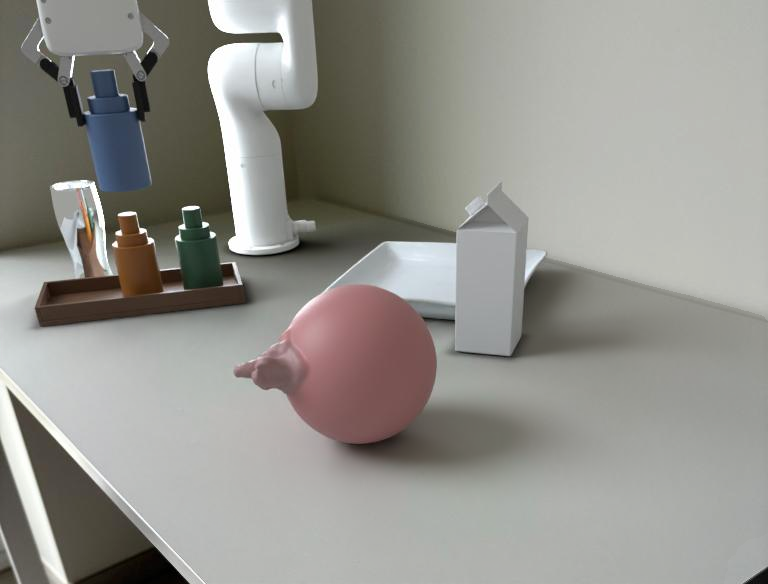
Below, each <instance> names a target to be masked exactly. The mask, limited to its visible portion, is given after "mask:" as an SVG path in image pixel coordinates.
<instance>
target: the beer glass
mask: <svg viewBox="0 0 768 584" xmlns="http://www.w3.org/2000/svg"><path fill="white" fill-rule="evenodd" d="M49 190H50V195H51V201H52V202H51V203H52V207H53V211H54V216H55V219H56V223H57V226H58V229H59V232H60V234H61V236H62V239H63V241H64V244H65V245H66V247H67V250H68V253H69V254H70V257H71V261H72V265H73V272H74V279H78V278H87V277H97V276H106V275H114V274H113V272H112V269H111V266H110V264H109V261H108V256H107V249H106V230H105V218H104V214H103V208H102V205H101V201H100V198H99V195H98V192H97V191H98V190H97V188H96V185H95V181H93V180H88V179H79V180H78V179H77V180H76V179H75V180H74V179H73V180H66V181H60V182H56V183H53V184H51V185H49Z"/></svg>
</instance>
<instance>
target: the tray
mask: <svg viewBox="0 0 768 584" xmlns="http://www.w3.org/2000/svg"><path fill="white" fill-rule="evenodd" d="M220 265H221V271H222V278H223V285H224V286H216V287H207V288H198V289H189V290H184V287H183V281H182V276H181V270H180V267H173V268H164V269H160V274H161V280H162V285H163V290H164V292H162V293H153V294H144V295H135V296H126V297H123V294H122V289H121V285H120V280H119V276H118V273H117V274H113V275H106V276H97V277H87V278H78V279H75V278H71V279H70V278H69V279H60V280H49V281H43V284H42V286H41V289H40V292H39V294H38V297H37V300H36V302H35V305H34V311H35V314H36V318H37V322H38V325H39V327H49V326H58V325H67V324H75V323H85V322H92V321H100V320H102V321H103V320H110V319H119V318H127V317H136V316H144V315H154V314H163V313H171V312H179V311H187V310H188V311H189V310H196V309H197V310H198V309H205V308H214V307H223V306H232V305H241V304H246V299H245V291H244V284H243V280H242V278H241V275H240V271H239V268H238V265H237V262H236V261H230V262H220Z"/></svg>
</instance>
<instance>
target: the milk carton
mask: <svg viewBox="0 0 768 584" xmlns="http://www.w3.org/2000/svg"><path fill="white" fill-rule="evenodd" d="M502 187H503V181H502V180H500V181H499V182H497V183H496V184H495V185H494V186H493V187H492V188H491V189H490V190H489V191H488V192H487V193H486V202H485V200H483V198H482V197H481V195H478V196H477V197H476V198H474V199H473V200H471V202H470V203H469V204H468V205H466V207H465V208H464V209H465V210H466V212H467V213H468V215H469V217H468V218H467V219H465V221H464V222H463V223H462V224H460V225H459V227H458V228H457V229H456V240H455V241H456V242H455V243H456V308H455V320H454V350H455V352H463V353H472V354H473V353H474V354H481V355H493V356H503V357H504V356H505V357H512V355H513V353H514V351H515V349H516V347H517V345H518V343H519V342H520V340H521V338H522V332H523V330H522V329H523V313H524V299H525V298H524V297H525V288H524V283H525V267H526V251H527V249H528V232H529V216H528V215H527V214H526V213H525V212H524V211H523V210H521V208H520V207H519V206H518V205H517V204H516V203H515V202H514V201H513V200H512V199H511V198H510V197H508V195H506V193H504V192H503V191H502V189H503V188H502Z"/></svg>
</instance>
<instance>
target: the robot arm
mask: <svg viewBox="0 0 768 584" xmlns="http://www.w3.org/2000/svg"><path fill="white" fill-rule="evenodd" d="M35 2H36V7H37V12H38V18H37V19H36V21H35V22H34V24H33V26H32V28H31V29H30V30H29V32H28V34H27V36H26V38H25V39H24V41H23V42H22V44H21V47H20V52H21V53H22V54H23V56H25V57H26V58H27V59H29V61H31V62H32V63H34V64H35V65H36V66H38V67H39V68H40V69H41V70H42V71H43V72H44V73H46V74H47V75H48V76H49V77H51V78H52V79H53V80H54V81H56V83H58V84H59V85H60V86H61V87H62V90H63V95H64V98H65V103H66V107H67V111H68V115H69V118H70V119H75V120H76V125H77V127H78V128H83V127H84V126H85V122H84V118H83V113H84V112H85V111H84V107H83V103H82V99H81V93H80V89H79V85H78V84H76V82H75V79H74V77H73V70H74V62H75V57H82V56H83V57H85V56H100V55H115V54H117V55H118V54H122V55H123V57H124V59H125V61H126V63H127V65H128V66H129V68H130V70H131V72H132V79H133V80H132V81H131V85H132V90H133V96H134V101H135V106H136V108H137V112H138V117H139V121H140V123H146V122H147V119H146V113H151V106H150V101H149V100H150V99H149V95H148V89H147V84H146V80H147V78H148V77H149V75H150V73H151V72H152V70H153V69H154V67H155V66H156V64H157V63H158V61H159V60H160V59H161V57H162V55H163V54H164V53H165V52H166V50H167V48H168V47H169V45H170V38H168V36H167V35H166V34H165V33H163V32H162V30H160V29H159V28H158V27H157V26H156V25H155V24H154V23H152V22H151V21H150V19H148V18H147V16H145V15H144V14H143V13H142V12H141V11H140V8H139V4H138V3H139V2H138V0H35ZM207 3H208V7H209V13H210V16H211V19H212V22H213V24H214V25H215V27H217V29H219V30H220V31H222V32H225V33H230V34H261V33H262V34H266V33H267V34H268V33H278V34H280V36H281V38H282V41H283V42H241V43H239V42H238V43H231V44H226V45H223V46H221V47H218V48H217V49H215V51H214V52H213V53H212V54H211V55H210V58H209V60H208V65H207V74H208V82H209V85H210V89H211V93H212V95H213V99H214V103H215V106H216V110H217V114H218V117H219V122H220V128H221V134H222V141H223V147H224V154H225V163H226V168H227V169H226V170H227V176H228V177H227V178H228V184H229V192H230V198H231V206H232V207H231V208H232V213H233V221H234V228H235V236H233V237H231V238H230V239H229V241H228V247H229V250H230V251H231V252H233V253H235V254H241V255H245V256H247V255H248V256H249V255H250V256H265V255H273V254H279V253H283V252H288V251H291V250H293V249H295V248H296V247H298V246H299V244H300V237H299V234H301V233H305V234H308V233H316V231H317V227H316V221H315V220H306V219H301V220H300V219H299V220H293V219H292V218H291V217H290V215H289V212H288V204H287V194H286V193H287V192H286V183H285V173H284V163H283V162H284V161H283V151H282V143H281V142H282V141H281V138H280V135H279V132H278V131H277V128H276V126H275V125H274V124H273V123H272V121H271V120H270V119H269V118H268V116H267V115H266V113H265V112H266V111H291V110H303V109H307V108H310V107H311V106H313V104H314V103H315V101H316V99H317V95H318V91H319V90H318V87H319V78H318V77H319V76H318V62H317V49H316V35H315V24H314V12H313V10H314V9H313V1H312V0H207ZM144 33H145V35H147V36H148V37H149V38H150V39H151V40H152V45H151V47H150V48H149V50H148V51H147V52H146V54H145V55H144V57H143V59H142V60H141V59H140V58H139V56H138V54H137V51H138V50H139V49H140V48H142V46H143V44H144ZM43 40H44V42H45V45H46V48H47V50H48V51H49V52H50V53H52V54H53V55H56V56H59V57H60V58H59V64H57V63H56V62H54V60H52V59H51V58H49V57H48V56H47V55H45V54H44V53H43V52H42V51H41V50H40V49H39V46H40V44H41V42H42V41H43Z"/></svg>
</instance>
